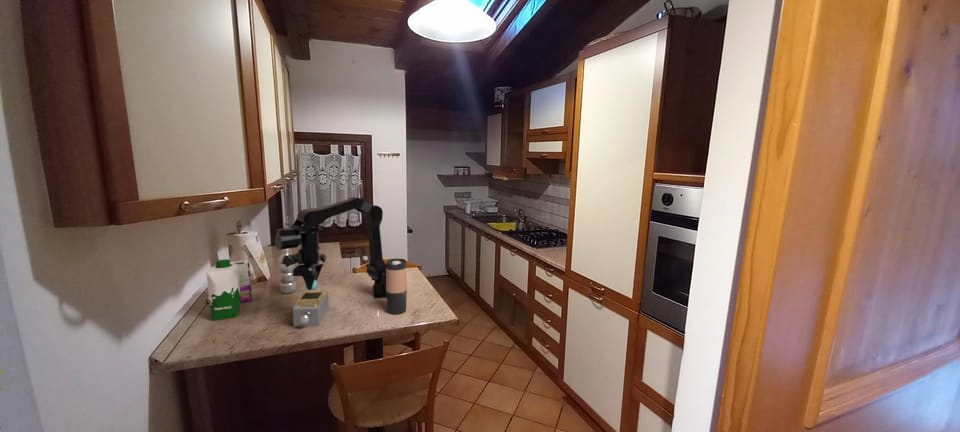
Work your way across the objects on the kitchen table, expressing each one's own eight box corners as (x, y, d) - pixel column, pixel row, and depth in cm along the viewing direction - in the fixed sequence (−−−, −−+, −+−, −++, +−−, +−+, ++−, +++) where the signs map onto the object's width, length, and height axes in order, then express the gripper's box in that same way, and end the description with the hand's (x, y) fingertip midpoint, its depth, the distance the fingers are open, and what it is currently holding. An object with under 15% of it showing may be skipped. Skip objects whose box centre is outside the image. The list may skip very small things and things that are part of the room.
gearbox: (328, 308, 131) (328, 288, 129) (316, 329, 115) (315, 305, 113) (306, 310, 129) (305, 289, 128) (291, 330, 113) (289, 307, 112)
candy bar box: (252, 296, 140) (249, 258, 138) (252, 300, 136) (249, 261, 134) (219, 301, 134) (215, 262, 132) (217, 306, 130) (213, 265, 128)
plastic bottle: (301, 289, 149) (298, 245, 146) (291, 295, 142) (288, 249, 139) (287, 288, 150) (284, 245, 147) (276, 294, 143) (273, 248, 140)
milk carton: (243, 308, 129) (238, 258, 126) (239, 318, 121) (234, 264, 118) (214, 312, 125) (209, 260, 122) (208, 322, 117) (203, 267, 114)
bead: (319, 287, 124) (318, 277, 123) (316, 291, 120) (315, 281, 119) (307, 288, 123) (306, 277, 122) (303, 292, 119) (303, 281, 118)
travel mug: (400, 305, 136) (399, 257, 133) (410, 311, 131) (410, 261, 128) (383, 310, 131) (382, 260, 128) (393, 317, 125) (392, 265, 122)
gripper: (294, 239, 126) (296, 279, 129) (274, 252, 108) (276, 298, 111) (325, 239, 129) (327, 278, 131) (311, 251, 110) (313, 296, 113)
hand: (311, 287), depth 121 cm, fingers closed on bead, 4 cm apart
